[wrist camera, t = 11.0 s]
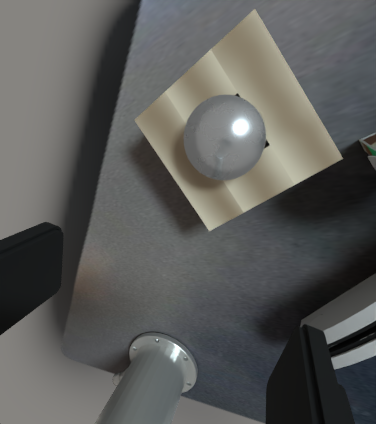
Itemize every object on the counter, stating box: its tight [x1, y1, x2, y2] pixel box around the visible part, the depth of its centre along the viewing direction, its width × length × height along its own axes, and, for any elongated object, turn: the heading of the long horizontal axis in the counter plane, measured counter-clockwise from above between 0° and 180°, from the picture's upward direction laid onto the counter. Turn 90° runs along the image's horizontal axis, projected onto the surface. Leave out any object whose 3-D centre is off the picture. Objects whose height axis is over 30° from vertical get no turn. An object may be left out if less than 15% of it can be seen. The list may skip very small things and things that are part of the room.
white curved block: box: [300, 273, 376, 369], centre depth 27 cm, size 17×5×10 cm, turn 142°
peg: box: [184, 95, 266, 180], centre depth 25 cm, size 7×7×8 cm
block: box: [135, 9, 343, 231], centre depth 26 cm, size 14×14×6 cm
